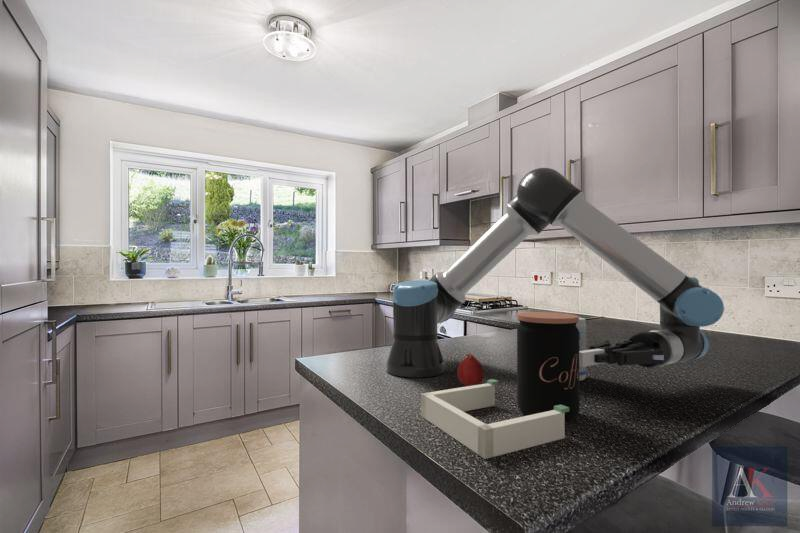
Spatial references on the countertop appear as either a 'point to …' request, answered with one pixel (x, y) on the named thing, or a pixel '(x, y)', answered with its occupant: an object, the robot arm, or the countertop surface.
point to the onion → (470, 371)
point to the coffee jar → (548, 363)
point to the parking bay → (494, 437)
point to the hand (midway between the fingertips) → (579, 359)
